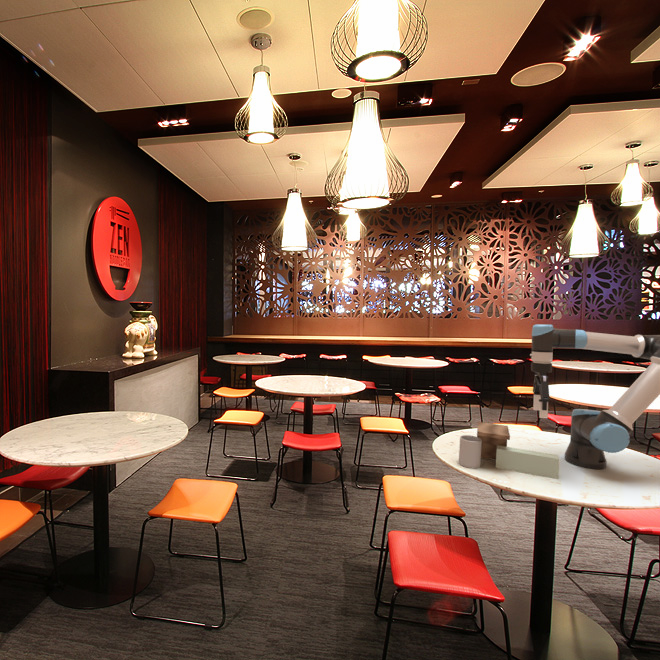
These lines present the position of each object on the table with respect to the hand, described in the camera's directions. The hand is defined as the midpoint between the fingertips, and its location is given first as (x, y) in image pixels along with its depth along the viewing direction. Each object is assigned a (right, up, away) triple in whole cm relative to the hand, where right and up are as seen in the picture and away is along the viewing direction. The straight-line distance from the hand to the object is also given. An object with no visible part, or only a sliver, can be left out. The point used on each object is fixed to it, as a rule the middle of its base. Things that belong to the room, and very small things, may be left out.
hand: (540, 414), depth 156 cm
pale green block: (-7, -23, -2) cm, 24 cm away
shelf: (-19, -22, +4) cm, 29 cm away
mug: (-27, -22, +4) cm, 35 cm away
